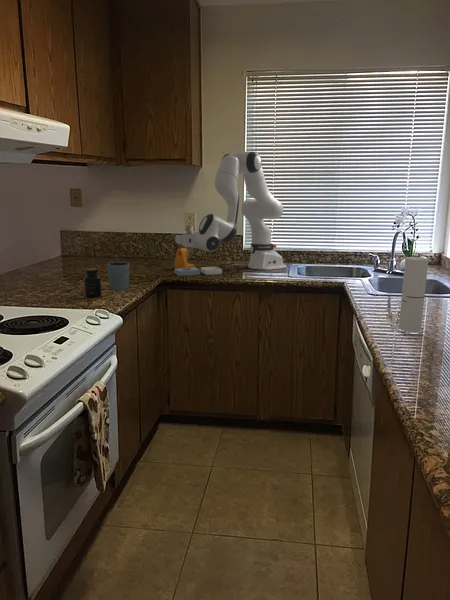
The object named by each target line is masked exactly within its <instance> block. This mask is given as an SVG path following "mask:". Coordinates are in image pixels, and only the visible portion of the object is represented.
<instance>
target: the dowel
mask: <svg viewBox="0 0 450 600" xmlns="http://www.w3.org/2000/svg"><path fill="white" fill-rule="evenodd" d="M193 232H194V226H193V225H185V234H189V233H193ZM185 248H186V252H187V253H189V254H193V253H194V248H193V247H185Z"/></svg>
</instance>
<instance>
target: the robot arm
mask: <svg viewBox="0 0 450 600" xmlns="http://www.w3.org/2000/svg"><path fill="white" fill-rule="evenodd" d="M262 162H263V161H262V157H261V156H260V154H259V153H258V152H255V151H238V152H229V153H226V154H224V155H223V156H222V159H221V162H220V163H219V166H218V168H217V171H216V174H215V177H214V188H215V191H217V193H218V194H219V195H220V196H221V197H222V198H223V200H224V201H225V202H226V204H227V215H226V220H225V219H223V218H222V217H219V216H217V215H216V214H214V213H208V214H207V215H206V216H204V217H203V218H202V219H201V221H200V223H199V225H198V226H199V227H198V230H196V231H193V233H189V234H186V233H183V234H179V235H178V234H177V235H175V236H174V241H175V243H176V244H178V245H180V246H183V248H186V247H193V249H199V250H201V251H206V252H213V251H215V250H217V249H218V248H219V247H220V243H221V241H222V242H224V243H230V242H232V241H234V240H235V238H236V237H237V235H238V234H237V233H238V225H237V223H238V218H239V217H238V216H239V209H240V210H241V213H242V215H243V216H244V217H245V218H246V220H247V221H248V223H249V226H250V230H251V231H250V232H251V243H250V259H249V263H248V266H247V267H248V268H249V269H252V270H253V269H255V270H264V271H269V270H270V271H272V270H278V269H279V270H281V269H287V267H288V266H287V265H286V264H285V263H284V259H283V257H282V255H281V254H279V253H278V252H277V251H276V250H275V249H276V248H277V247H278V246H277V244H274V243H271V242H272V230H271V228H270V227H269V226H268V225H266V223H265V221H264V220H276V219H279V218H281V217H282V215H283V213H284V205H283V203H282V202H281V201H280V200H278V199H277V198H275V197H274V195H273V194H272V192H271V191H270V190H269V187H268V185H267V182H266V178H265V173H264V169H263V166H262V165H263V164H262ZM240 175H243V180H244V184H245V188H246V191H247V194H248V195H249V196H251V197H252V198H250V199H246V200H244V201H243V203H242V204H241V208H239V207H240V194H239V192H238V180H239V177H240Z"/></svg>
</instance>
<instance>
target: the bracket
mask: <svg viewBox="0 0 450 600" xmlns="http://www.w3.org/2000/svg"><path fill="white" fill-rule="evenodd" d="M189 255H190V253H187V252H186V247H182V248H177V250H176V253H175V260H174V264H173V265H174V266H173V267H174V268H175V269H177V268H195V267H196V264H194V263H189V262H188V258H189Z"/></svg>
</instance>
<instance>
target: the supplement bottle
mask: <svg viewBox="0 0 450 600" xmlns="http://www.w3.org/2000/svg"><path fill="white" fill-rule="evenodd" d="M85 273H86V275H85V276H84V278H83V281H84V282H83V283H84V293H85V297H86V298H89V299H95V298H96V299H97V298H101V296H102V294H103V293H102V282H101V280H102V279H101V276H100V275H99V274H98V273H99V272H98V268H96V267H95V268H93V267H91V268H87V269H85Z"/></svg>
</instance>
